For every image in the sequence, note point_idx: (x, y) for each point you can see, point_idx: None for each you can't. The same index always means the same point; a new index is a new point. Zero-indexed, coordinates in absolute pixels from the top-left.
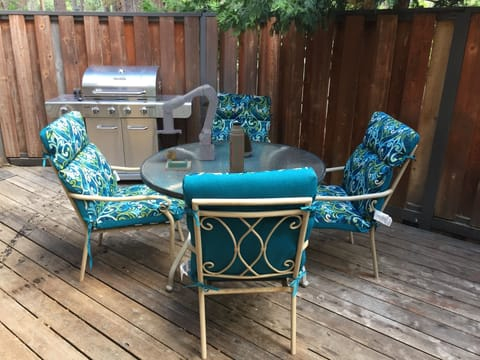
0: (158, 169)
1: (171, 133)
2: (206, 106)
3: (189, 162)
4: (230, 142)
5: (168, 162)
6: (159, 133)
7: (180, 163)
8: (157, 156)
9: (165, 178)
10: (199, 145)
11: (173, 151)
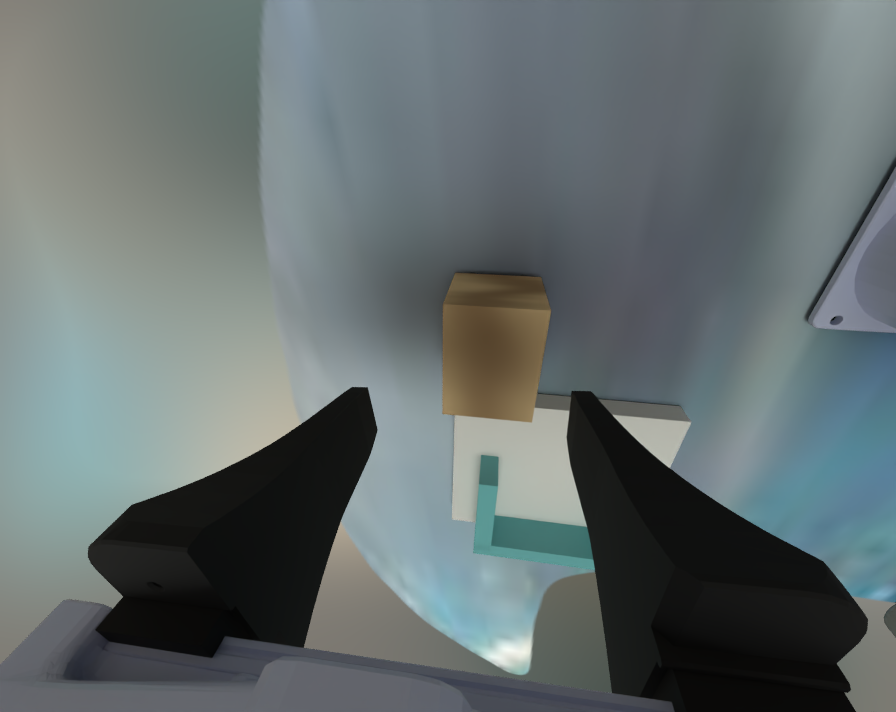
0: (409, 485)
1: (508, 704)
2: None
3: (660, 454)
4: None
5: (475, 539)
6: (156, 663)
7: (569, 565)
8: (302, 116)
9: (470, 590)
10: None
11: (519, 323)
